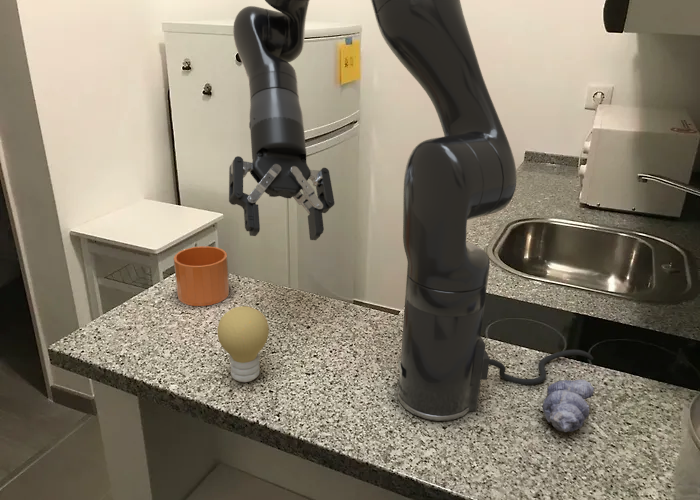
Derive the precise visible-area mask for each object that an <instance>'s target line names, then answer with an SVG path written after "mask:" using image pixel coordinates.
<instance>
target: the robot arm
mask: <svg viewBox="0 0 700 500" xmlns="http://www.w3.org/2000/svg"><path fill="white" fill-rule="evenodd" d="M264 1H265V3H267V4H268V5H269V6H270V7H271V8H273V9H274V10H272V9H268V8H263V7H259V6H254V5H250V6H249V5H248V6H245V7H243V8H242V9H240V10H239V12H238V13H237V15H236V16H235V19H234V21H233V27H232V31H233V32H232V34H233V41H234V45H235V48H236V51H237V54H238V57H239V59H240V61H241V64H242V66H243V68H244V71H245V74H246V77H247V80H248V88H249V102H250V103H249V104H250V105H249V123H248V127H249V130H250V131H249V133H250V147H251V160H252V162H250V161H245V160H244V158H242V156H238V155H237V156H235V157H234V159H233V160H232V162H231V164H230V165H229V171H228V174H229V175H228V178H229V179H228V202H229V203H230V205H232V206H236V205H237V206H240V207H241V208H242V209H243V219H244V229H245V231H246V232H249V233H248V234H249V236H250V237H256V236H258V234H259V233H260V230H261V225H260V212H259V210H260V209H259V204H257V202H258V201H259V199H260V198H261V197H262V195H264V193H265V194H267V195H268V196H269V197H271V198H277V197H281V198H284V199H289V200H290V199H292V198H293V199H294V201H295V202H296V203H297V204H298V205H299V206H302V208H304V209H305V211H306V212H307V213H308V215H307V223H308V225H307V226H308V234H309V240H310V241H317V240H318V239H319V238H320V237H321V236H322V234H324V219H323V217H324V216H323V214H326V213H328V212H329V210H330V209H331V208H333V207H334V206H335V198H334V192H333V185H332V180H331V175H330V170H329V169H328V168H327V167H322V168H321V169H320V170H316V169H311V168H310V167H309V166H308V163H307V146H306V137H305V127H304V118H303V116H304V115H303V111H302V107H301V104H300V94H299V86H298V85H299V84H298V76H297V72H296V69H295V67H294V66H293V65H292V64H291V62H293V61H295V60H297V58H298V57H300V55H301V54H302V51H303V49H304V45H305V32H306V21H307V14H308V8H309V4H310V1H311V0H264ZM370 3H371V7H372V11H373V13H374V16H375V20H376V23H377V27H378V30H379V32H380V35H381V37H382V38H383V40H384V42H385V43H386V46H388V48H389V50H390V51H391V52H392V53H393V55H394V56H395V58H397V60H398V61H399V62H400V63H401V65H402V66H403V67H404V68H405V70H406V71H408V72H409V74H410V75H411V76H412V77H413V78H414V79H415V80H416V81H417V83H418V84H419V85H420V87H421V88H422V89H423V90H424V92H425V93H426V95H427V96H428V98H429V100H430V102H431V103H432V105H433V107H434V109H435V112H436V114H437V117H438V120H439V123H440V126H441V129H442V132H443V136H438V137H433V138H432V137H431V138H428V139H426V140H423V141H421V142H419V143H418V144H417V145H416V146H415V147H414V148H413V149H412V150H411V153H410V154H409V157H408V158H407V162H406V165H405V170H404V177H403V193H402V194H403V198H402V199H403V201H402V203H403V204H402V206H403V207H402V208H403V211H402V212H403V213H402V214H403V216H402V243H403V248H404V252H405V253H404V254H405V256H406V261H407V263H406V264H407V265H406V267H407V268H406V280H405V282H406V283H405V295H404V296H405V297H404V310H403V322H402V336H401V337H402V338H401V350H400V358H398V359H397V362H398V363H397V367H398V372H399V374H398V375H399V376H398V385H397V392H396V393H397V395H396V396H397V399H398V401H399V403H400V405H401V406H402V407H403V408H404V409H405V410H406V411H407V412H408V413H410V414H412V415H414V416H416V417H419V418H421V419H425V420H429V421H435V422H436V421H437V422H445V421H453V420H456V419H460V418H462V417H464V416H465V415H466V414H468V413H469V412H476V411H477V409H478V405H479V395H480V388H481V381H487V379H488V376H489V367H490V366H493V367H495V368H498V369H499V370H498V375H499V377H501V379H502V380H505V381H507V382H510V383H515V384H519V385H525V386H531V385H538V384H541V383H543V382H544V381H545V380H546V379H547V370H546V367H545V365H546V364H548V363H549V362H551V361H554V360H556V359H558V358H562V357H567V356H581V357H584V358H586V359H587V360H590V361H592V360H594V356H592V354H590V352H587V351H585V350H581V349H565V350H561V351H557V352H554V353H551V354H549V355H547V356H545V357H543V358H541V360H539V363H538V369H539V373H540V375H539V376H538V377H535V378H519V377H516V376H512V375H510V374H508V373H506V366H505V365H504V364H503V363H502V362H501V361H498V360H496V359H492V358H491V357H490V356H489V355H488V353H487V351H486V343H485V341H484V339H483V338H482V336H481V335H482V334H481V333H482V327H483V319H484V312H485V304H486V297H487V289H488V280H489V275H490V266H491V264H490V263H491V262H490V257H489V255H488V253H487V252H486V251H485V250H484V249H483V248H481V247H479V246H478V245H476V244H474V243H471V242H469V241H467V225H468V221H470V220H473V219H477V218H481V217H484V216H485V217H486V216H489V215H492V214H495V213H497V212H500V211H502V210H504V209H505V208H506V207H507V206H508V205H509V204H510V202H511V201H512V199H513V198H514V194H515V191H516V187H517V167H516V161H515V158H514V157H515V156H514V153H513V151H512V148H511V144H510V142H509V140H508V137H507V135H506V132H505V130H504V127H503V124H502V122H501V119H500V117H499V115H498V112H497V110H496V107H495V105H494V103H493V99H492V97H491V95H490V92H489V90H488V87H487V84H486V82H485V79H484V76H483V73H482V71H481V67H480V63H479V60H478V57H477V54H476V51H475V48H474V44H473V41H472V37H471V34H470V32H469V29H468V25H467V21H466V19H465V15H464V11H463V6H462V3H461V0H370ZM248 173H250V175H251V177H253V179H254V180H255V182H256V183H257V185H256V186H255V187H254V188H253V190H252V191H251V192H250V193H249V194H247V193H245V192H244V178H245V177H246V176H247V174H248ZM309 180H311V182H312V185H311V184H310V182H309ZM313 187H315V188H316V189H314V188H313ZM315 190H316V193H315ZM301 191H302V192H303V193H302V192H301Z"/></svg>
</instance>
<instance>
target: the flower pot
mask: <svg viewBox="0 0 700 500" xmlns="http://www.w3.org/2000/svg"><path fill="white" fill-rule="evenodd" d="M228 261H229V260H228V253H227V252H226V251H225V250H224V249H222V248H220V247H216V246H210V245H209V246H207V245H202V246H199V245H198V246H192V247H189V248H185V249H182V250H180V251H177V253H176V254H174V257H173V265H174V267H173V268H174V275H175V285H176V295H177V299H178V301H179V302H180V303H182V304H184V305H187V306H192V307H205V306H211V305H215V304H219V303H221V302H223V301H225V300H226V299H227V298H228V297H229V295H230V278H229V277H230V276H229V264H228Z"/></svg>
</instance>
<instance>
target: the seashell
mask: <svg viewBox="0 0 700 500" xmlns="http://www.w3.org/2000/svg"><path fill="white" fill-rule="evenodd" d="M594 392H595V387H594V386H593V385H592V382H590V381H587V380H586V379H575V380H574V379H573V380H571V379H568V380H567V379H564V380H563V379H562V380H558V381H555V382H553V383H551V384H549V386H548V387H547V391H546V393H547V394H546V395H547V396H546V397H545V398H544V400H543V402H542V412H543V414H544V416H545V419H546V421H547V422H548V423H551V425H552V426H553V428H554V429H555V430H556V431H558V432H564V433H567V432H571V433H572V432H575V431H577V430H581V428H582V427H583V426H584V423H585V421H586V420H587V418H588V417H589V415H590V405H589V404H588V402H587V401H586V400H587V399H591V398H592V397H593V395H594Z"/></svg>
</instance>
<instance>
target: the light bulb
mask: <svg viewBox="0 0 700 500" xmlns="http://www.w3.org/2000/svg"><path fill="white" fill-rule="evenodd" d="M269 332H270V328H269V322H268V320H267V318H266V316H265V315H264V314H263V312H261V311H260V310H259V309H256V308H254V307H252V306H246V305H241V306H236V307H233V308H231V309H229V310H228V311H227V312H226V313H224V314H223V316H221V318H220V320H219V322H218V325H217V331H216V333H217V339H218V342H219V344H220V346H221V347H222V349H223V350H225V352H226V353H227V354H228V355H229V363H230V367H229V368H230V376H231V378H232V379H233V380H235V381H237V382H239V383H249V382H252V381H254V380H256V379H257V377H259V376H260V372H261V371H260V370H261V369H260V368H261V367H260V354H259V353H260V352H261V351H262V349H263V348H264V346H265V345H266V343H267V341H268V339H269V334H270V333H269Z"/></svg>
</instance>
